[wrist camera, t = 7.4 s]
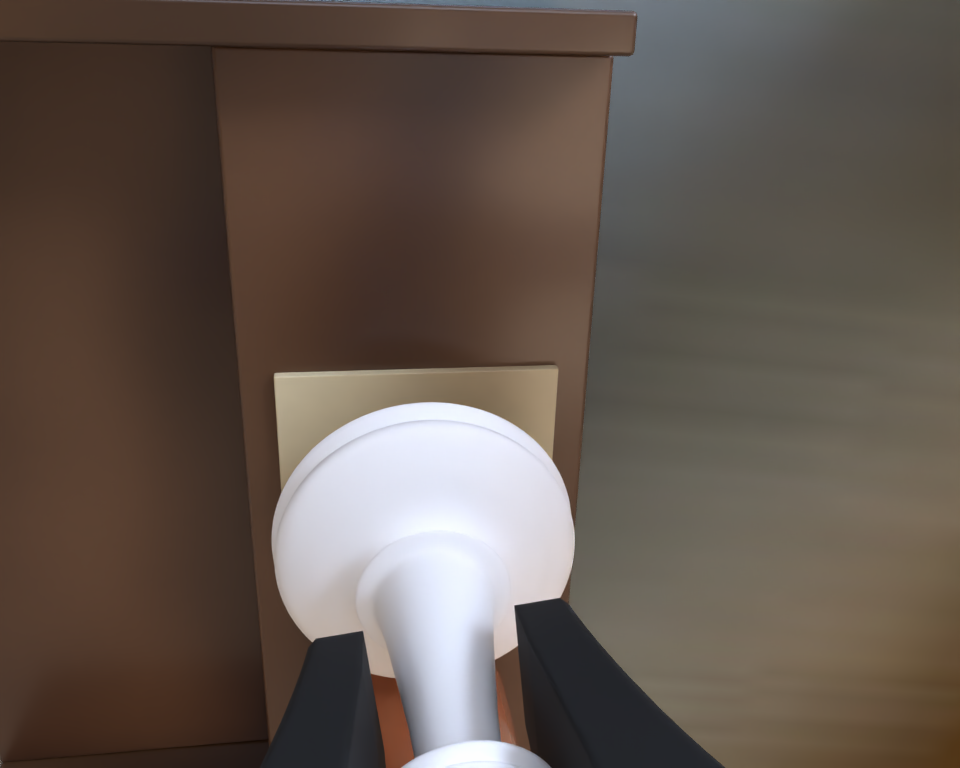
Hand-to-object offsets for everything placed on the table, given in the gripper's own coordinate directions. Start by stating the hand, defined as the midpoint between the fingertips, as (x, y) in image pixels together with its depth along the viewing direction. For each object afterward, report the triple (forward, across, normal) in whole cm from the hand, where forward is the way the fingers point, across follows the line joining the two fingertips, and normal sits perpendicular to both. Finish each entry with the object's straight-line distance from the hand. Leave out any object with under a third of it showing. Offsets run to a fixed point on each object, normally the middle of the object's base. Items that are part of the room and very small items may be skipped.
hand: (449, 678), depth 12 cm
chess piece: (+4, 0, 0) cm, 4 cm away
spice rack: (+9, +3, 0) cm, 9 cm away
